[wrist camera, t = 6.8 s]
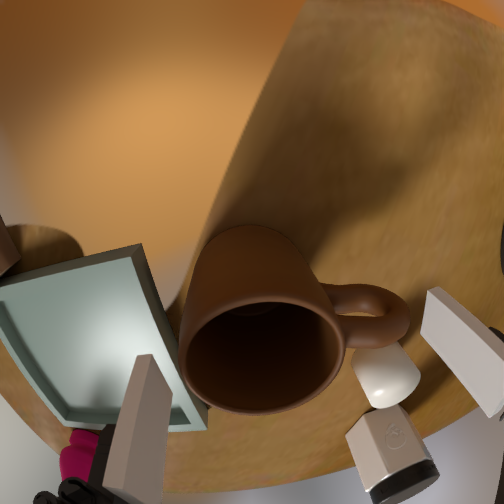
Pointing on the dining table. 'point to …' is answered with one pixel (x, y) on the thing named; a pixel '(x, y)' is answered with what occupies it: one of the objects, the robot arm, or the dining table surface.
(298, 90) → the dining table surface
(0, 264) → the block
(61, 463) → the pepper mill
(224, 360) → the mug
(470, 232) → the dining table surface
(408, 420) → the jar
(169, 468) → the dining table surface
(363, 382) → the white rounded cylinder
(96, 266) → the tray
